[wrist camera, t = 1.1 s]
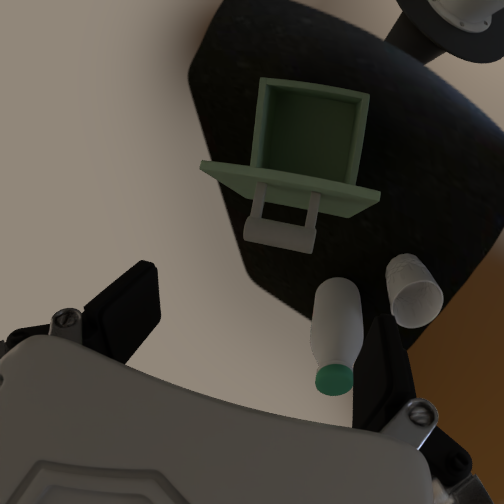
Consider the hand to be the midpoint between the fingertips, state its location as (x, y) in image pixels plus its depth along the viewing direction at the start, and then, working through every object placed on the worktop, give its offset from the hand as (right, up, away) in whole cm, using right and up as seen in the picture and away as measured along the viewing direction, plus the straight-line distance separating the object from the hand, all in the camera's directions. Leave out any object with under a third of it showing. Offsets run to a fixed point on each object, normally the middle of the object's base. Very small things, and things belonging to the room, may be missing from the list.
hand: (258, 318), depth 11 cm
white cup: (+25, 0, +31) cm, 40 cm away
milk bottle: (+14, -5, +36) cm, 39 cm away
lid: (+4, +8, +15) cm, 17 cm away
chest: (+8, +19, +27) cm, 34 cm away
